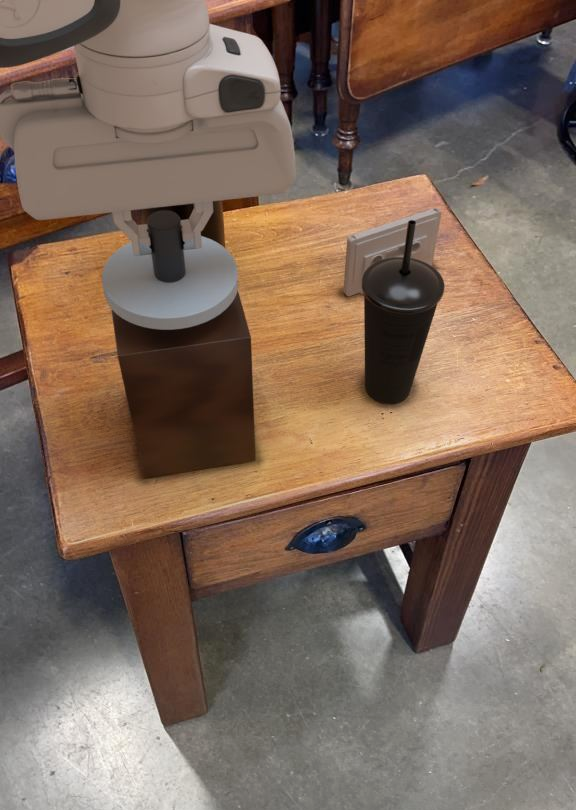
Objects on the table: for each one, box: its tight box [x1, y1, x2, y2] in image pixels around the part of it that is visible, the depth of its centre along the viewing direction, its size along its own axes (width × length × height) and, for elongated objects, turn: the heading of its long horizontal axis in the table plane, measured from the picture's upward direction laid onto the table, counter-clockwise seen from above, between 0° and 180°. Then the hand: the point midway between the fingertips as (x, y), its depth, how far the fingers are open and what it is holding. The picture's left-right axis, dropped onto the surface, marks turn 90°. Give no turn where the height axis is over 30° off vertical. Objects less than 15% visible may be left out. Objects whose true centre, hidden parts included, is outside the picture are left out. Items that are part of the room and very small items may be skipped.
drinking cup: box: [361, 220, 445, 405], centre depth 79 cm, size 8×8×20 cm
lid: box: [101, 211, 239, 330], centre depth 67 cm, size 11×11×6 cm
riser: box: [110, 289, 257, 479], centre depth 77 cm, size 11×11×16 cm
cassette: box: [342, 207, 442, 297], centre depth 95 cm, size 12×2×8 cm, turn 118°
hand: (167, 247), depth 66 cm, fingers closed on lid, 2 cm apart
